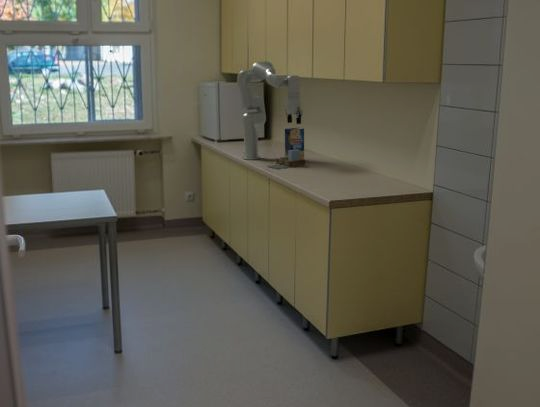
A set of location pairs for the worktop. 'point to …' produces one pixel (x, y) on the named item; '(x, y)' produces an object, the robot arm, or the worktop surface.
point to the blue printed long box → (294, 140)
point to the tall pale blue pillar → (293, 155)
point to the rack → (290, 163)
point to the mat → (277, 166)
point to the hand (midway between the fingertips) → (294, 123)
